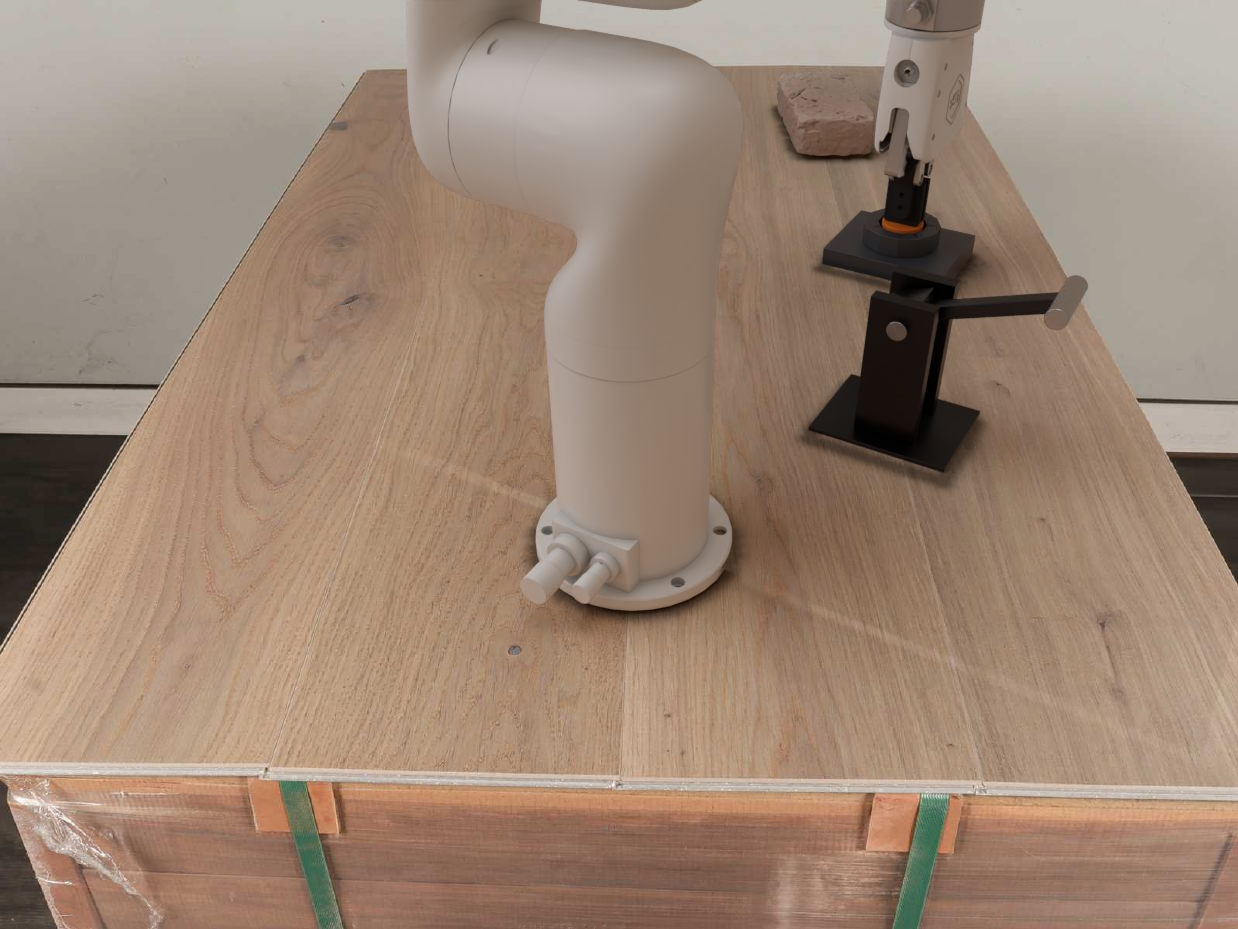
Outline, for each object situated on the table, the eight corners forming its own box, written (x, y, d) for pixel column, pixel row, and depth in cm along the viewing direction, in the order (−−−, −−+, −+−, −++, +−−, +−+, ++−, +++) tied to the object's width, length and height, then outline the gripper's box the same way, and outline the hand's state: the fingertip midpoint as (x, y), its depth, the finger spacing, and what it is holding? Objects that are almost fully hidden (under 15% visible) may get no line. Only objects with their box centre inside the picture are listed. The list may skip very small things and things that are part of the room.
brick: (773, 107, 134) (776, 67, 131) (843, 104, 134) (847, 65, 131) (796, 162, 121) (799, 120, 118) (873, 160, 121) (878, 117, 118)
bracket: (977, 424, 82) (1008, 280, 74) (941, 483, 76) (971, 334, 69) (849, 386, 86) (867, 247, 79) (806, 439, 81) (821, 295, 73)
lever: (1090, 301, 71) (1085, 266, 70) (1070, 337, 67) (1065, 301, 66) (908, 312, 78) (902, 281, 77) (882, 345, 75) (875, 312, 74)
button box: (971, 256, 102) (979, 216, 100) (939, 299, 96) (946, 257, 94) (858, 231, 107) (863, 191, 105) (821, 269, 101) (825, 229, 99)
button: (926, 235, 101) (929, 217, 100) (912, 251, 98) (915, 233, 97) (888, 227, 102) (890, 209, 101) (873, 242, 100) (876, 224, 99)
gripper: (950, 39, 81) (915, 264, 93) (1009, -12, 91) (971, 197, 103) (853, 24, 85) (831, 245, 96) (921, -23, 95) (893, 181, 106)
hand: (903, 219), depth 99 cm, fingers closed
